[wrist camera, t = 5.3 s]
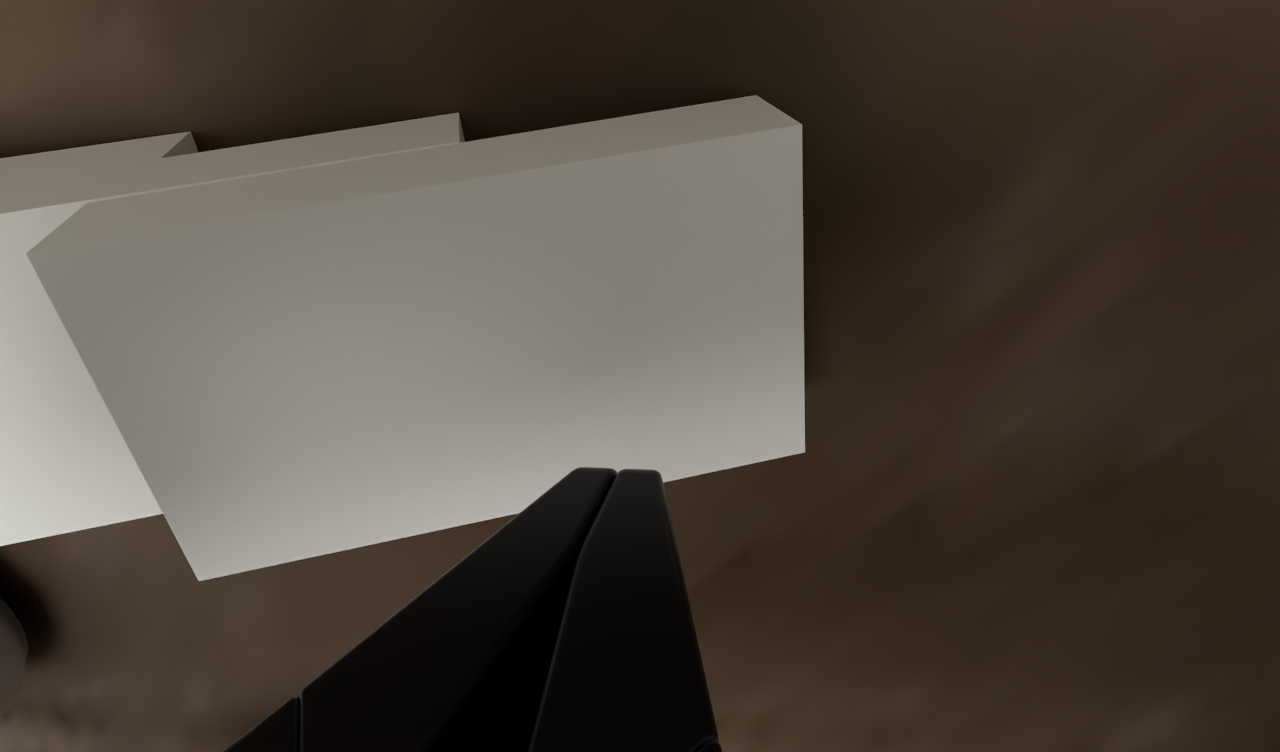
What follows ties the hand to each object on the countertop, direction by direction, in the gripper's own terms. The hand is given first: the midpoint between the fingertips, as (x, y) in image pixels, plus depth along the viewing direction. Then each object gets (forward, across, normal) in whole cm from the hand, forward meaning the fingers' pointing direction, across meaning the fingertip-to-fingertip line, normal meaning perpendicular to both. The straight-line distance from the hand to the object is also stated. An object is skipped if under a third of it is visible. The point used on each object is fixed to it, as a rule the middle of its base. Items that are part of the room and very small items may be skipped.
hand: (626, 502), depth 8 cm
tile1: (+5, -1, 0) cm, 5 cm away
